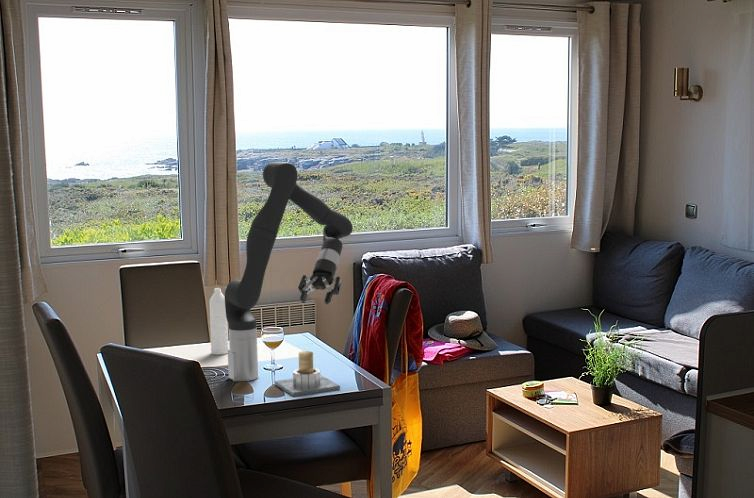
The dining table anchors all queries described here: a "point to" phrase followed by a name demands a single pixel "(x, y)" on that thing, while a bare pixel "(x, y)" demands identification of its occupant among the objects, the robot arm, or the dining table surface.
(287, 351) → the dining table surface
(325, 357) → the dining table surface
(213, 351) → the water bottle
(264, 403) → the dining table surface
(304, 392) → the socket board
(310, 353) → the plug
